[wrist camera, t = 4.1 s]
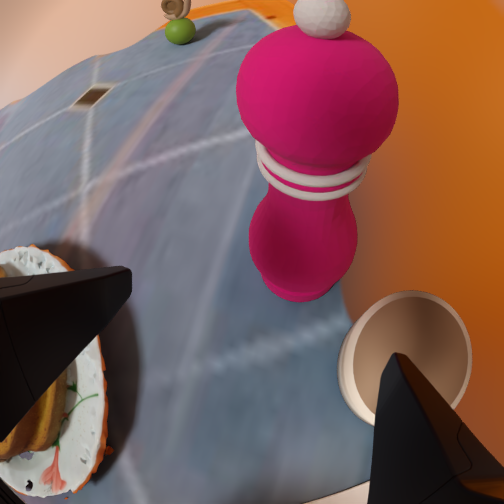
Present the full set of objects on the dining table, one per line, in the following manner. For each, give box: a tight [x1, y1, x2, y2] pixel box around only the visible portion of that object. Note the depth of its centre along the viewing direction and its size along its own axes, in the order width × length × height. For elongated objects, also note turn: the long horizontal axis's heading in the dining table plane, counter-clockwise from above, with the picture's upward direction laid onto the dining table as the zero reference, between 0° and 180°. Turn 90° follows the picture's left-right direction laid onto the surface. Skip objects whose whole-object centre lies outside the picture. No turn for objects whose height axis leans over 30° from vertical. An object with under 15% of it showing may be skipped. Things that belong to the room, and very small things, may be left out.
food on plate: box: [0, 244, 114, 499], centre depth 19 cm, size 26×26×7 cm
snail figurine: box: [161, 0, 196, 44], centre depth 39 cm, size 5×6×12 cm
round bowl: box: [337, 290, 472, 426], centre depth 18 cm, size 10×10×3 cm
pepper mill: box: [236, 0, 399, 302], centre depth 15 cm, size 7×7×20 cm
